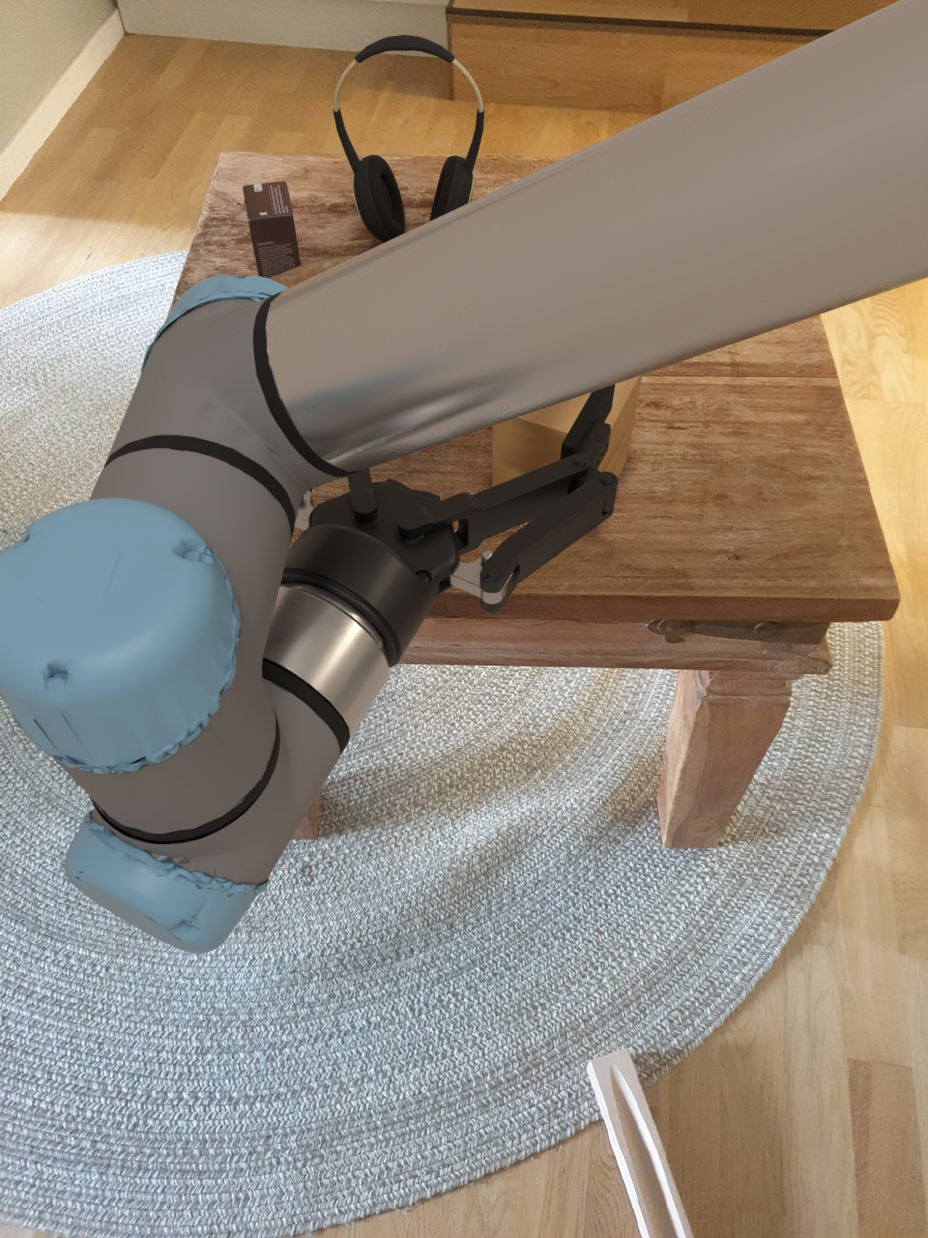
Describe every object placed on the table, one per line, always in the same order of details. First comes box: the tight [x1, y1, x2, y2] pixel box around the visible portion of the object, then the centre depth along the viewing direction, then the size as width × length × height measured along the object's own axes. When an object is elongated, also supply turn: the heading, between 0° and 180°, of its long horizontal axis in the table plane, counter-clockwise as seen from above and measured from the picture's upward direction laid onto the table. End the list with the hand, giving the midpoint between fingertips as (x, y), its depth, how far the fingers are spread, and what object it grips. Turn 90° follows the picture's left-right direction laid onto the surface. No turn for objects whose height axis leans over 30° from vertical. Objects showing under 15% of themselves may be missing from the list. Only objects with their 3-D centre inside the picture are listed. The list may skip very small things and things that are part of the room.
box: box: [242, 180, 302, 278], centre depth 89 cm, size 6×4×12 cm
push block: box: [491, 375, 643, 487], centre depth 76 cm, size 9×9×10 cm
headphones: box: [332, 34, 485, 243], centre depth 92 cm, size 9×15×20 cm, turn 87°
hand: (509, 359), depth 56 cm, fingers open, 12 cm apart
